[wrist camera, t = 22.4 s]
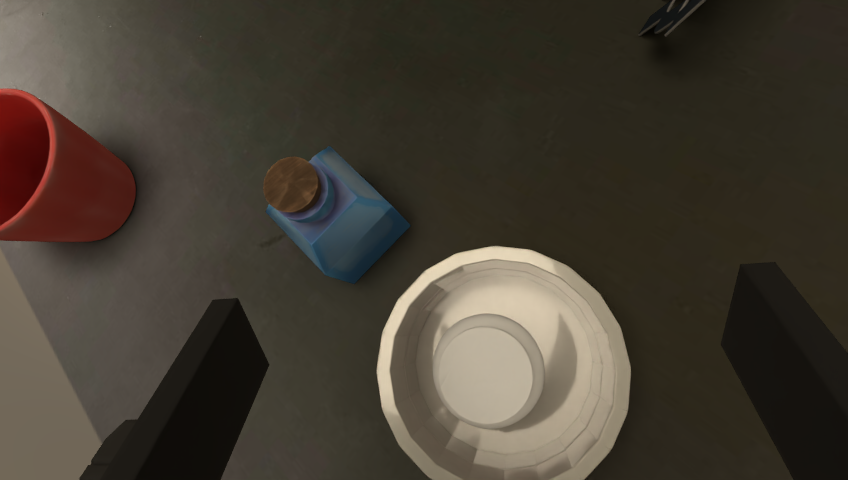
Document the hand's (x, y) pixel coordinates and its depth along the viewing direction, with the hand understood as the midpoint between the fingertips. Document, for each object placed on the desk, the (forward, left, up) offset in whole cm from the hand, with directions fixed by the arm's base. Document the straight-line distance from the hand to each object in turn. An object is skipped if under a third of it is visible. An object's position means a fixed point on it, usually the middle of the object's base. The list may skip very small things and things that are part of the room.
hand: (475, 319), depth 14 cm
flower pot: (-25, +26, -23) cm, 43 cm away
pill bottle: (-1, -2, -23) cm, 23 cm away
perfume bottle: (-6, +12, -23) cm, 27 cm away
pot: (-1, -2, -23) cm, 23 cm away
